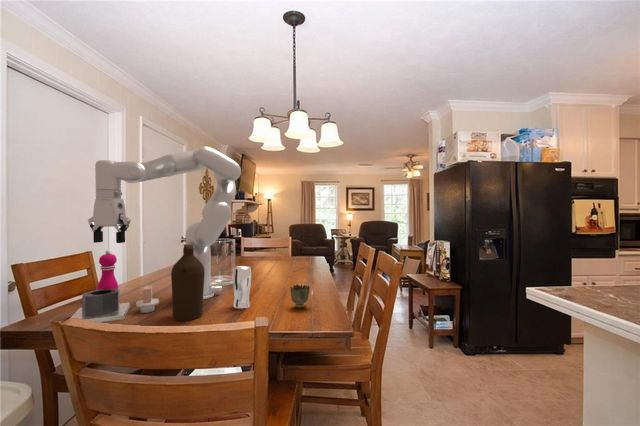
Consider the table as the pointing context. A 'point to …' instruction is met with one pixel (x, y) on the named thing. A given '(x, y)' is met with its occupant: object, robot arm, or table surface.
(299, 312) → the table surface
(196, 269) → the olive oil
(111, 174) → the robot arm
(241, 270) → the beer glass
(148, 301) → the beige blocky piece
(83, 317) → the grey tub on base
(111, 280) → the pepper mill
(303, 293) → the cup
